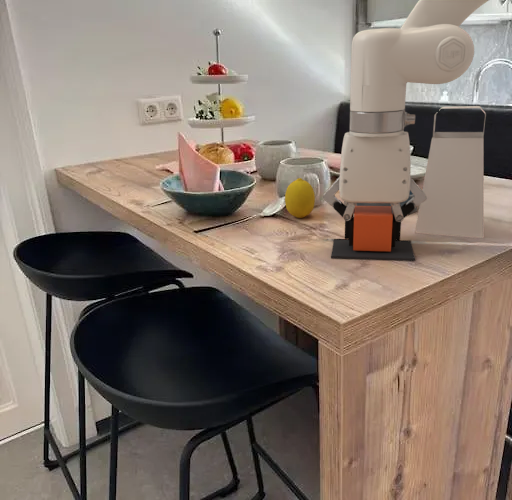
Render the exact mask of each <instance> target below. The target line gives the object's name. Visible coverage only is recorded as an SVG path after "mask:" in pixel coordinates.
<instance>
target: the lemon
mask: <svg viewBox="0 0 512 500" xmlns="http://www.w3.org/2000/svg"><path fill="white" fill-rule="evenodd" d="M284 203H285V208H286V210H287V212H288V213H289V214H290V215H291V216H292V217H295V218H296V219H304V218H305V217H307V216H309V215H310V214H311V213H312V212H313V210H314V208H315V205H316V196H315V191H314V188H313V186H312V185H311V184H310V182H308V181H307V180H304V179H303V178H301V177H298V178H296V179H295V180H293V181H292V182H290V184H288V185H287V187H286V190H285V193H284Z"/></svg>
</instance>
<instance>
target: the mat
mask: <svg viewBox="0 0 512 500" xmlns="http://www.w3.org/2000/svg"><path fill="white" fill-rule="evenodd" d="M412 245H413V244H412V242H411V240H405V239H403V240H402V239H400V240H396V241H395V247H391V252H389V251H356V250H353V245H352V246H349V239H345V238H333V243H332V249H331V255H330V259H339V260H340V259H342V260H372V261H373V260H374V261H403V260H410V261H409V262H414V261H413V260H415V261H416V258H415V253H414V249H413V246H412ZM411 260H412V261H411Z"/></svg>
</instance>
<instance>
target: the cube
mask: <svg viewBox="0 0 512 500" xmlns="http://www.w3.org/2000/svg"><path fill="white" fill-rule="evenodd" d="M353 217H354V239H353V250H356V251H389V252H391V239H392V221H393V215H392V209H391V206H356V207H355V211H354V213H353Z"/></svg>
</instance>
